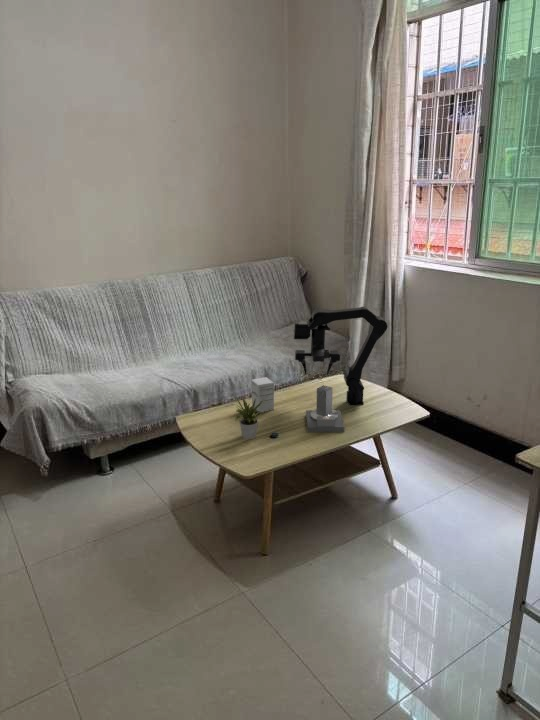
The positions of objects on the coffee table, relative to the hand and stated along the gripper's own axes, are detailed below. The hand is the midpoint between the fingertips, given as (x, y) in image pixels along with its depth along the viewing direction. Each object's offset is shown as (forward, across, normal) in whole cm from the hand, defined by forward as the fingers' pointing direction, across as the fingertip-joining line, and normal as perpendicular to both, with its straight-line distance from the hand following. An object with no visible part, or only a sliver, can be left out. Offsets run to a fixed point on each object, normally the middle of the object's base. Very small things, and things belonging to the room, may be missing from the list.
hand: (316, 374), depth 239 cm
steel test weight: (+10, +2, -18) cm, 21 cm away
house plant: (+14, -29, -31) cm, 45 cm away
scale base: (+13, +2, -20) cm, 24 cm away
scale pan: (+11, +2, -18) cm, 22 cm away
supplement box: (+14, -22, -5) cm, 27 cm away
